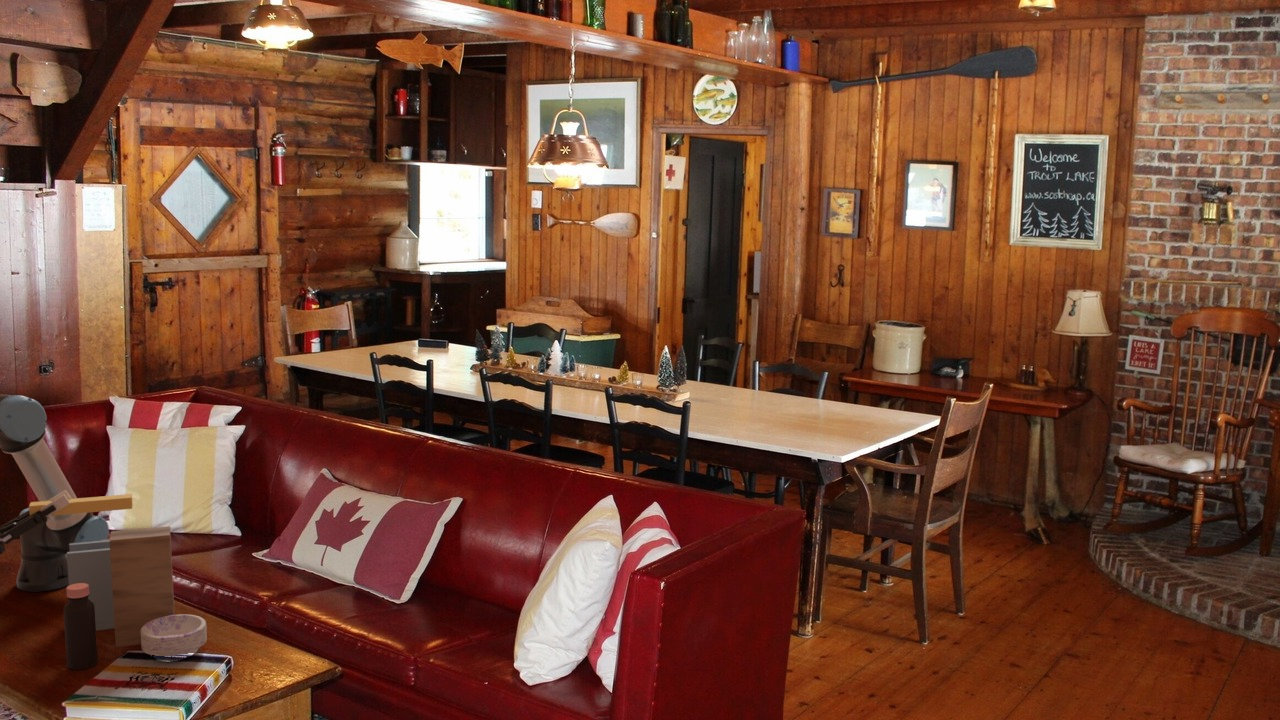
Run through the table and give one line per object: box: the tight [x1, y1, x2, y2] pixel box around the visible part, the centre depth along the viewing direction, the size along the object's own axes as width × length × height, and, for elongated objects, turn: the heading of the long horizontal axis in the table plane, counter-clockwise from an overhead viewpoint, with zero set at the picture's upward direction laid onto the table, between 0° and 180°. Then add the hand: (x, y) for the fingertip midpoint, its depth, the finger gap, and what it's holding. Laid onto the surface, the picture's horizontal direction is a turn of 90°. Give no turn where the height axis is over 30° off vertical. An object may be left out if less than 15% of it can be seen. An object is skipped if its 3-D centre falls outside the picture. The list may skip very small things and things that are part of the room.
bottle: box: [63, 583, 99, 671], centre depth 285 cm, size 7×7×20 cm
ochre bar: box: [28, 493, 133, 516], centre depth 306 cm, size 4×24×3 cm, turn 111°
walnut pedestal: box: [109, 525, 176, 648], centre depth 301 cm, size 8×14×28 cm, turn 111°
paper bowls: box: [140, 613, 208, 656], centre depth 293 cm, size 15×15×8 cm
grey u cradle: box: [67, 540, 115, 632], centre depth 311 cm, size 9×16×22 cm, turn 111°
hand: (67, 496), depth 305 cm, fingers closed on ochre bar, 4 cm apart
